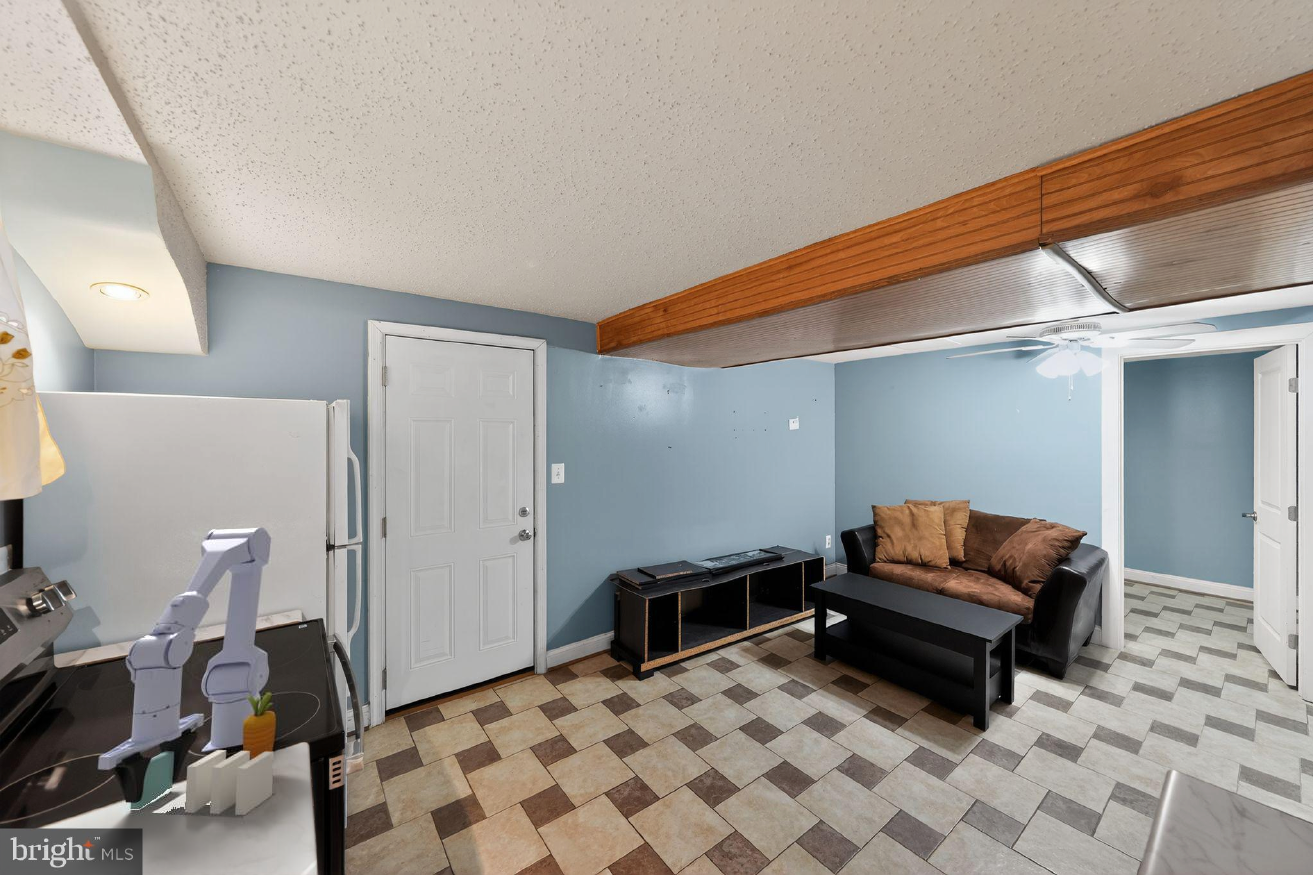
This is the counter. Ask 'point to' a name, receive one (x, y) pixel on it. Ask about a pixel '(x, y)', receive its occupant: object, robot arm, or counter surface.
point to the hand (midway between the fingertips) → (152, 790)
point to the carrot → (259, 728)
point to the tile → (156, 778)
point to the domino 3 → (254, 782)
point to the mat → (206, 811)
